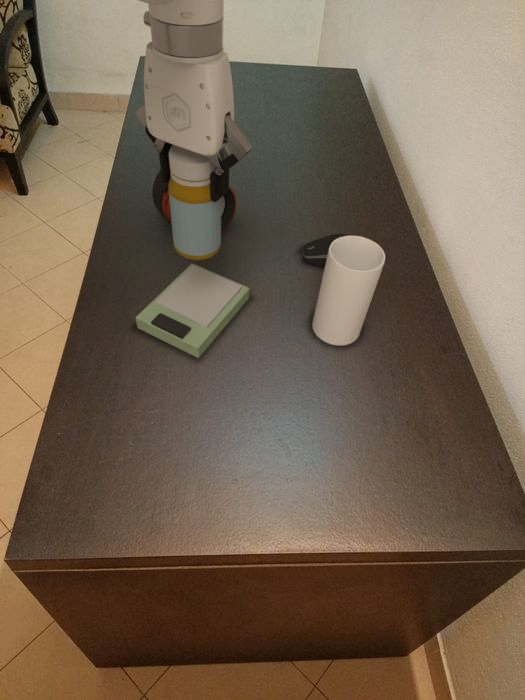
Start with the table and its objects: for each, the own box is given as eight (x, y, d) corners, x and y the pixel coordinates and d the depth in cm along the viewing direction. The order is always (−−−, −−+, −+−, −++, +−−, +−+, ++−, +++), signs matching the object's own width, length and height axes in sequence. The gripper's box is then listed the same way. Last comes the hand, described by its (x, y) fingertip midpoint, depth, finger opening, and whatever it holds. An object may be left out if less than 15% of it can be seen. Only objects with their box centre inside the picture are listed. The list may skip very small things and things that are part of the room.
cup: (354, 351, 77) (380, 278, 64) (306, 337, 78) (323, 262, 66) (364, 317, 82) (389, 243, 70) (318, 304, 83) (336, 229, 71)
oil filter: (180, 253, 89) (174, 192, 80) (150, 220, 95) (141, 159, 85) (236, 232, 95) (238, 172, 85) (205, 202, 101) (203, 143, 91)
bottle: (170, 260, 68) (160, 163, 57) (178, 231, 73) (170, 136, 61) (217, 264, 68) (217, 169, 57) (223, 235, 73) (223, 141, 61)
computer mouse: (300, 244, 94) (302, 227, 91) (360, 246, 95) (365, 230, 92) (303, 267, 89) (305, 250, 86) (366, 269, 90) (371, 253, 87)
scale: (198, 358, 74) (197, 345, 71) (137, 328, 77) (134, 314, 74) (249, 298, 83) (250, 284, 80) (192, 273, 86) (191, 259, 84)
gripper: (98, 24, 49) (124, 179, 63) (240, 66, 45) (235, 223, 58) (143, 8, 54) (159, 156, 67) (277, 45, 49) (264, 195, 63)
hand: (194, 186), depth 63 cm, fingers closed on bottle, 7 cm apart
